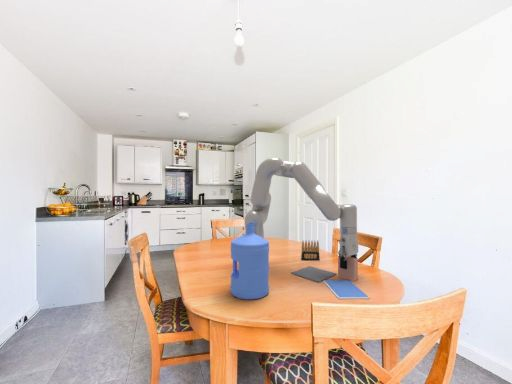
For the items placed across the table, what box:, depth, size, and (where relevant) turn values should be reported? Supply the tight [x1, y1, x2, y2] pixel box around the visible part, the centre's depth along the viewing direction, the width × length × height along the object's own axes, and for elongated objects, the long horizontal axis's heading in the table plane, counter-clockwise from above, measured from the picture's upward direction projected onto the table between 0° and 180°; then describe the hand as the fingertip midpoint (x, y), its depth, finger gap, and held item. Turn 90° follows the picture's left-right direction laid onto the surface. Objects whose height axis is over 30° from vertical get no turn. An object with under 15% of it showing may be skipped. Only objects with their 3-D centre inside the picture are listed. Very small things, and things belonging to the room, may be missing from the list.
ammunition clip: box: [300, 239, 321, 262], centre depth 149 cm, size 11×2×12 cm, turn 90°
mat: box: [290, 265, 338, 283], centre depth 123 cm, size 16×16×1 cm
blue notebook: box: [322, 279, 370, 300], centre depth 105 cm, size 19×13×1 cm, turn 2°
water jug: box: [229, 223, 270, 301], centre depth 101 cm, size 16×16×28 cm
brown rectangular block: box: [337, 255, 359, 282], centre depth 118 cm, size 4×8×10 cm, turn 43°
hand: (348, 266), depth 118 cm, fingers open, 9 cm apart
